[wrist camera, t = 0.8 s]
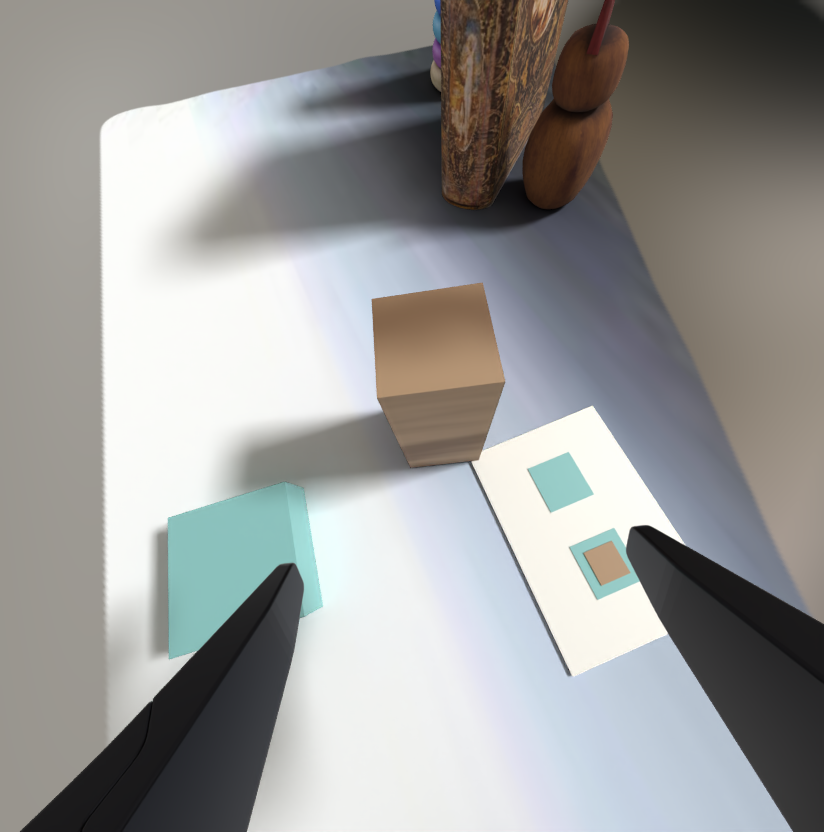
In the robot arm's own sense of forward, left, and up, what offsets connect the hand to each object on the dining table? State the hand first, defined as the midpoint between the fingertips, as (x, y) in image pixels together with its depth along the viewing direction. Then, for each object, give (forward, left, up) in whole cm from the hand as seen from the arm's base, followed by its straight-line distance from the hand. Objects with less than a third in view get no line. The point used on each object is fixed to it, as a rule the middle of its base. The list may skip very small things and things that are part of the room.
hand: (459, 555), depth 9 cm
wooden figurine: (+28, -20, -14) cm, 37 cm away
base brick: (+3, +13, -14) cm, 19 cm away
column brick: (+8, -2, -14) cm, 16 cm away
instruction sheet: (-1, -9, -14) cm, 17 cm away
